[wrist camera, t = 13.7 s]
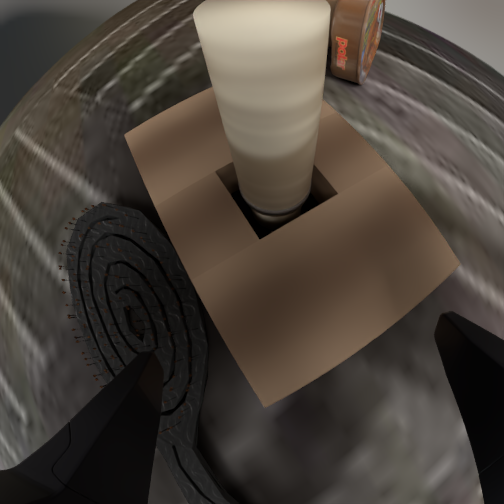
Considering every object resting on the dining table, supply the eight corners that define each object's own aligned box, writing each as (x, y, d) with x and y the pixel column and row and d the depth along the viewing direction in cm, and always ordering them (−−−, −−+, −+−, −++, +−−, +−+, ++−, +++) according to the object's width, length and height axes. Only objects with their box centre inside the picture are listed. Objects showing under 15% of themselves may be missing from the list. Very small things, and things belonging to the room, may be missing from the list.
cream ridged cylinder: (301, 240, 16) (329, 38, 4) (238, 229, 17) (167, 35, 5) (311, 186, 17) (333, -9, 5) (253, 176, 18) (217, -13, 6)
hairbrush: (196, 577, 8) (37, 232, 14) (207, 549, 11) (69, 247, 18) (322, 556, 8) (142, 168, 15) (316, 525, 12) (164, 196, 18)
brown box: (435, 277, 15) (460, 264, 12) (267, 395, 14) (264, 407, 11) (277, 89, 20) (276, 61, 17) (141, 158, 19) (124, 134, 17)
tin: (356, 103, 19) (374, 15, 11) (319, 91, 20) (325, 3, 12) (382, 35, 23) (393, -22, 15) (356, 27, 23) (363, -31, 15)
